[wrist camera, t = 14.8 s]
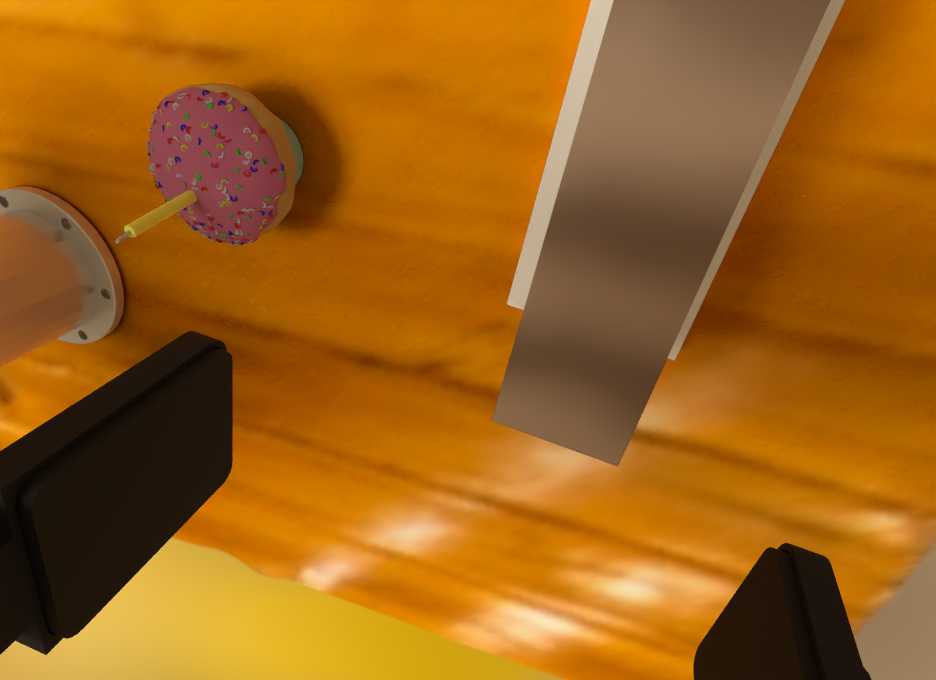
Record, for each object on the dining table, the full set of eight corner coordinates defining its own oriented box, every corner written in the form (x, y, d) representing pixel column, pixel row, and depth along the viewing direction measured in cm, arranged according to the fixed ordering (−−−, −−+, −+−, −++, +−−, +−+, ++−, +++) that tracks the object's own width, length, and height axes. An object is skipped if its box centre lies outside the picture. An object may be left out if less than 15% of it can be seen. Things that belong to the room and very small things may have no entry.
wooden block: (669, -142, 19) (668, -189, 15) (845, -107, 18) (897, -147, 14) (517, 364, 29) (491, 420, 25) (626, 401, 29) (617, 466, 24)
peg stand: (674, 348, 35) (675, 420, 28) (512, 294, 36) (478, 351, 30) (863, -55, 24) (930, -84, 18) (625, -107, 26) (610, -150, 19)
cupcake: (322, 237, 38) (196, 313, 28) (208, 196, 39) (47, 256, 29) (337, 99, 34) (194, 130, 24) (208, 58, 35) (18, 71, 25)
